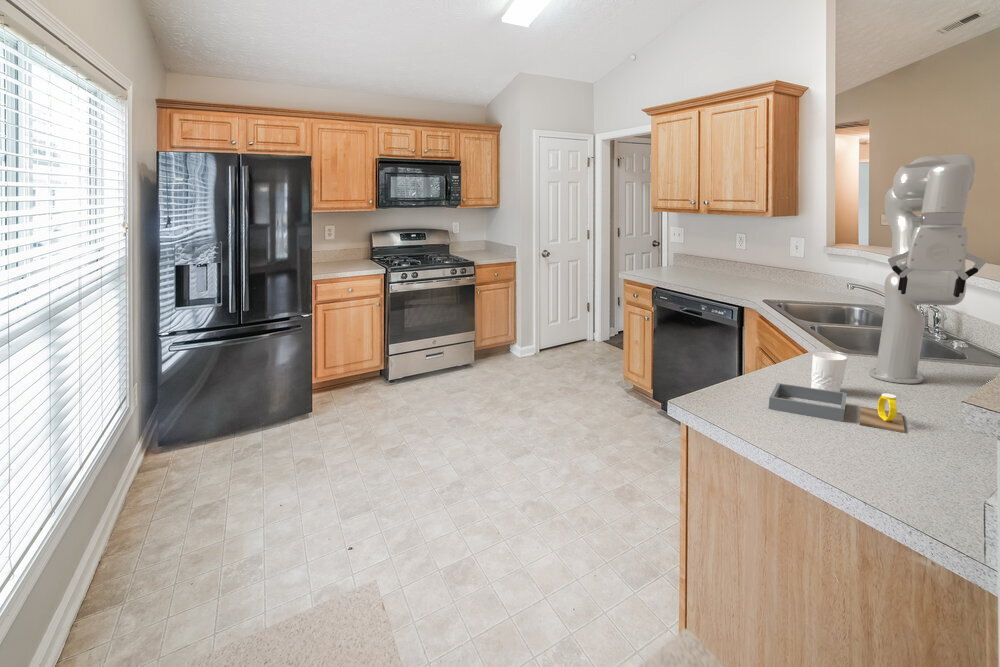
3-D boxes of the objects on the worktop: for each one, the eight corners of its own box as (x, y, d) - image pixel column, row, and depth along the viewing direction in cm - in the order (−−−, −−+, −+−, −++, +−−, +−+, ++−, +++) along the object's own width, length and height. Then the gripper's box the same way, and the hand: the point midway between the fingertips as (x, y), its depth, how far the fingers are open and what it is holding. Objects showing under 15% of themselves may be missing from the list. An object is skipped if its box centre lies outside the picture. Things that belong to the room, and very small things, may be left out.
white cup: (847, 396, 133) (852, 360, 131) (815, 395, 135) (819, 359, 133) (834, 387, 141) (839, 352, 139) (804, 385, 142) (808, 351, 140)
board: (860, 408, 125) (860, 406, 124) (901, 415, 120) (901, 413, 120) (859, 424, 115) (860, 422, 115) (904, 432, 110) (904, 430, 110)
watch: (897, 425, 114) (902, 401, 112) (883, 424, 114) (888, 400, 113) (886, 414, 119) (890, 390, 117) (872, 413, 120) (876, 390, 118)
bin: (776, 393, 137) (777, 382, 136) (845, 404, 128) (846, 393, 127) (768, 408, 126) (769, 397, 125) (843, 421, 117) (844, 409, 116)
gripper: (894, 221, 116) (883, 294, 120) (996, 220, 107) (981, 299, 110) (892, 221, 122) (882, 290, 126) (990, 219, 113) (975, 295, 116)
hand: (928, 295), depth 118 cm, fingers open, 9 cm apart
